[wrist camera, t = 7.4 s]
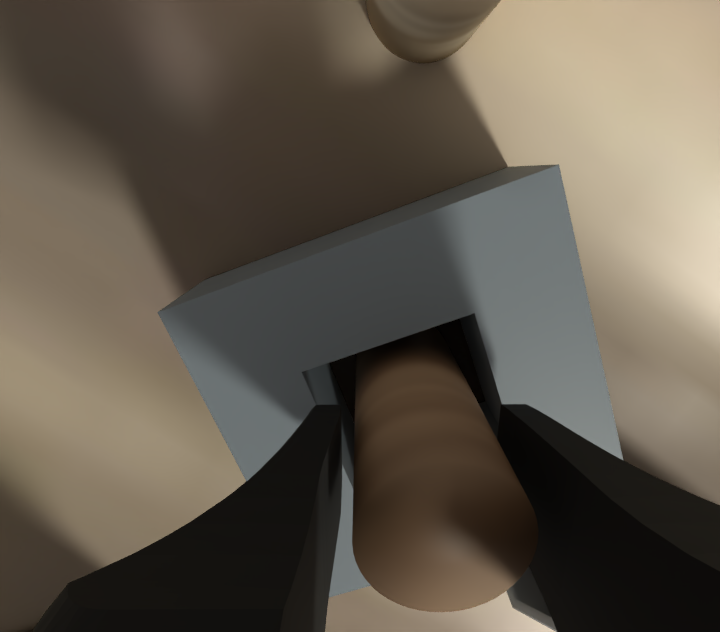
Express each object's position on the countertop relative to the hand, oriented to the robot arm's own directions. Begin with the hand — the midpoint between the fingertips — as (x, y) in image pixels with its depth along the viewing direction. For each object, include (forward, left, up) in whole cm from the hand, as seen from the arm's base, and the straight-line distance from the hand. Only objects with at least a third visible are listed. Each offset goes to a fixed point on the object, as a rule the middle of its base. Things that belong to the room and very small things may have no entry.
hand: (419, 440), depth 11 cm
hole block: (0, 0, -4) cm, 4 cm away
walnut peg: (0, 0, -5) cm, 5 cm away
